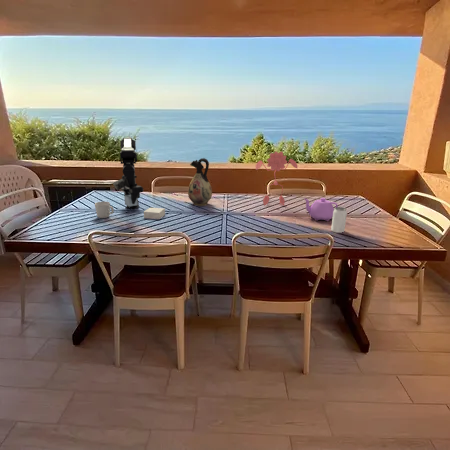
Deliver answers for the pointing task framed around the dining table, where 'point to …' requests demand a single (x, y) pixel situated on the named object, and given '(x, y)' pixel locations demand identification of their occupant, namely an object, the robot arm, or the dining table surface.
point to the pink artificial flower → (275, 163)
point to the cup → (103, 209)
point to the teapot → (321, 209)
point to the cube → (129, 201)
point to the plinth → (154, 213)
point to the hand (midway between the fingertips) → (131, 202)
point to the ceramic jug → (200, 185)
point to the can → (339, 220)
